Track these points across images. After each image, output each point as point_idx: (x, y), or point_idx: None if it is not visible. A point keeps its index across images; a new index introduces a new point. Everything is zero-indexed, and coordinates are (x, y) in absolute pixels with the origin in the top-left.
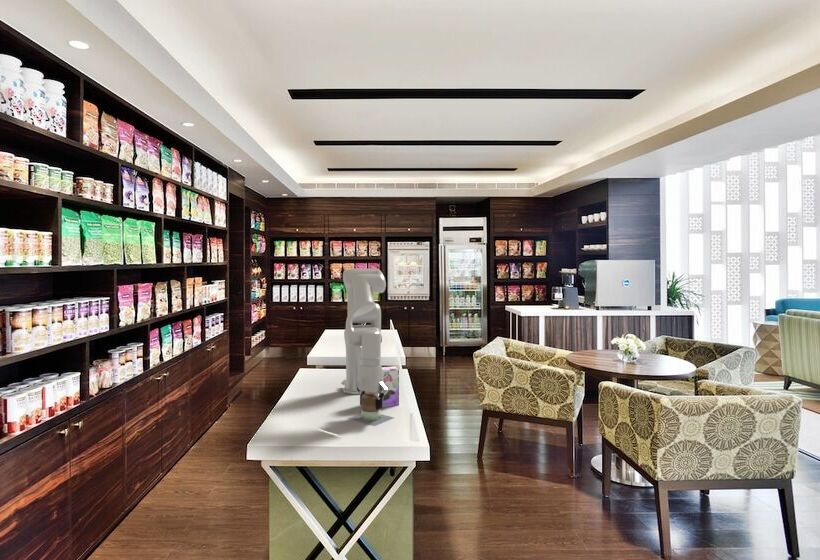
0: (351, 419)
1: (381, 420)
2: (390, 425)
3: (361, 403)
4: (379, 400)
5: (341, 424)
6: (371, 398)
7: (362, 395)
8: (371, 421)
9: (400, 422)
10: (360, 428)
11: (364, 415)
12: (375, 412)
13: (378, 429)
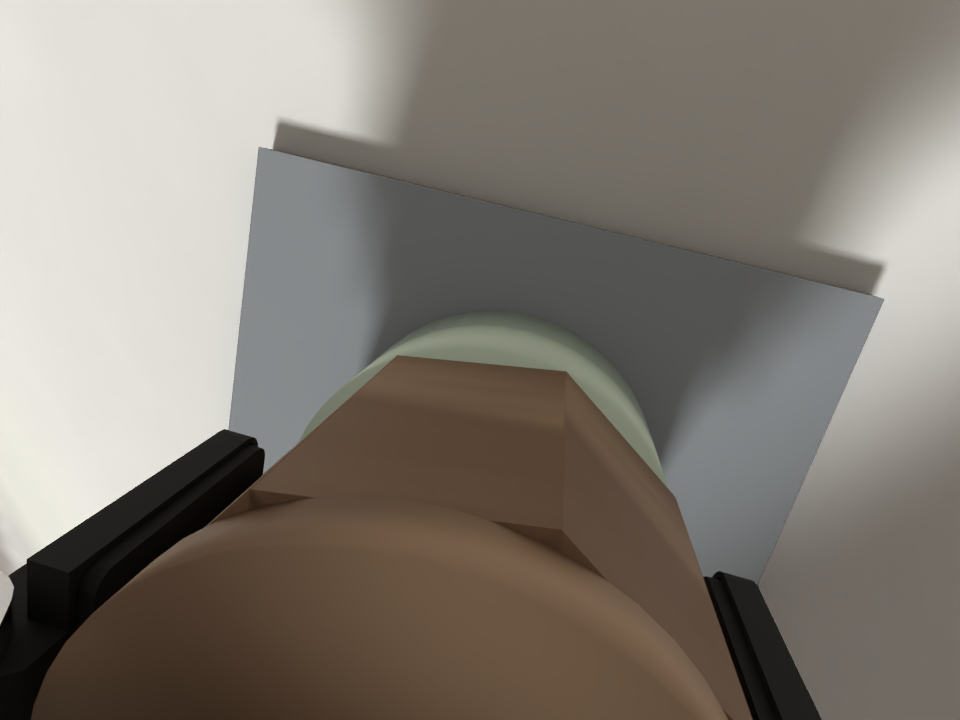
0: (782, 277)
1: (301, 419)
2: (138, 336)
3: (698, 569)
4: (16, 579)
5: (886, 28)
6: (176, 545)
7: (658, 703)
8: (409, 323)
9: (101, 484)
10: (449, 9)
11: (527, 336)
12: (313, 420)
13: (181, 110)
